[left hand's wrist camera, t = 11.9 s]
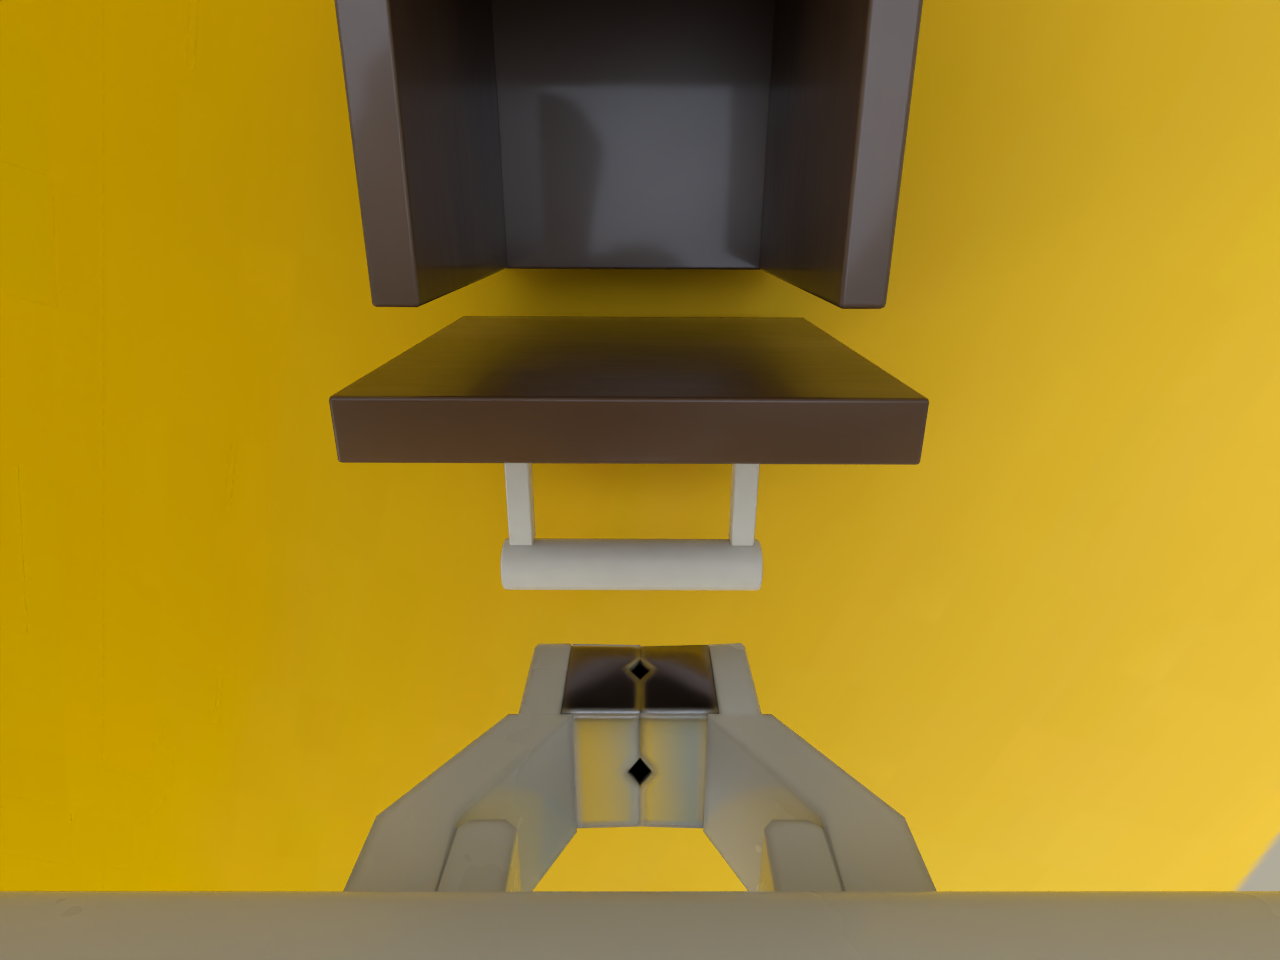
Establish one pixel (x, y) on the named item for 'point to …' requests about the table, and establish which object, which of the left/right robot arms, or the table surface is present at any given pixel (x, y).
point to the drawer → (629, 245)
